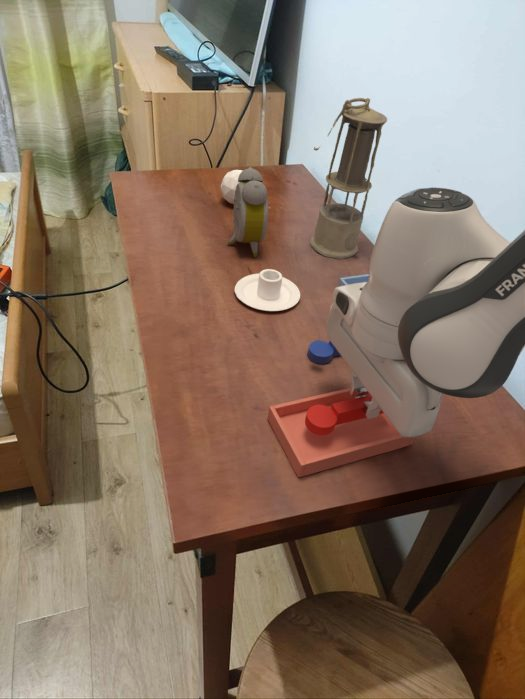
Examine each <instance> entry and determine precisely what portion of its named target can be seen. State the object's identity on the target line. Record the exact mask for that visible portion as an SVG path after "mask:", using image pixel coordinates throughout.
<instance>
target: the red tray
mask: <svg viewBox="0 0 525 699" xmlns="http://www.w3.org/2000/svg"><path fill="white" fill-rule="evenodd" d="M351 389H352V387H348V388H344V389H339V390H334V391H330V392H326V393H322V394H318V395H317V394H316V395H313V396H308V397H304V398H301V399H296V400H292V401H287V402H282V403H279V404H274V405H270V406H269V407H268V413H267V421H268V423H269V425H270V427H271V429H272V431H273V432H274V434H275V437H276V438H277V440H278V442H279V444H280V446H281V447H282V449H283V451H284V453H285V455H286V457H287V459H288V461H289V462H290V463H289V464H290V465H291V466H292V469H293V470H294V472H295V474H296V476H297V478H302V477H306V476H309V475H312V474H315V473H320V472H323V471H326V470H330V469H333V468H336V467H340V466H344V465H346V464H349V463H353V462H356V461H361V460H364V459H368V458H370V457H374V456H378V455H381V454H385V453H389V452H391V451H394V450H398V449H402V448H405V447H409V446H412V444H413V441H414V439H415V437H410V438H405V437H402V436H401V435H400V434H399V432H398V431H397V430H396V428H395V427H394V426H393V424H392V423H391V422H390V420H389V419H388V418H387V416H386V415H385V414H384V413H383V414H379V415H378V416H377V417H374V418H370V419H368V418H363V419H359V420H355V421H351V422H347V423H343V424H339V425H335V428H334V430H333V432H331V433H330V434H328V435H317V434H314V433H312V432H311V431H309V430H308V429H307V427H306V425H305V418H306V414H307V411H308V409H309V408H310V407H312V406H314V405H325V406H328V407H330V408H331V407H332V404H334V403H339V402H343V401H347V400H351V399H354V398H353V397H352V396H351V394H350V392H351ZM368 395H370V393H369V392H368V394H367V396H368Z"/></svg>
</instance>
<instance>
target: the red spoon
mask: <svg viewBox="0 0 525 699" xmlns="http://www.w3.org/2000/svg"><path fill="white" fill-rule="evenodd" d="M368 401H369V402H371V401H372V396H371V395H368V396H364V397H360V398H356V399H351V400H347V401H343V402H339V403H334V404H332V407H331V408H330V407H328V406H325V405H314V406H312V407H310V408H309V409H308V411H307V414H306V418H305V425H306V427H307V429H308V430H309V431H311V432H312V433H314V434H317V435H328V434H330V433H331V432H333V430H334V428H335V425H339V424H343V423H347V422H351V421H355V420H359V419H363V418H367V417H366V415H365V414H364V412H363V411H362V409H363V405H364V402H368ZM383 413H384V412H383V411H382V410H380V413H379V414H383Z"/></svg>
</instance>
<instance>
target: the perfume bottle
mask: <svg viewBox="0 0 525 699" xmlns="http://www.w3.org/2000/svg"><path fill="white" fill-rule="evenodd" d="M243 170H244V169H243ZM243 170H242V169H232V170H230V171H227V173H226V174H225V175H224V177H223V178H222V180H221V183H220V192H221V194H222V198H223V199H224V200H226V201H227V202H228V203H229V204H230V205H234V197H235V190H236V186H237V184H238V183H240V182H238V178H239V175H240V173H241V172H242V171H243ZM241 183H242V182H241Z"/></svg>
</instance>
